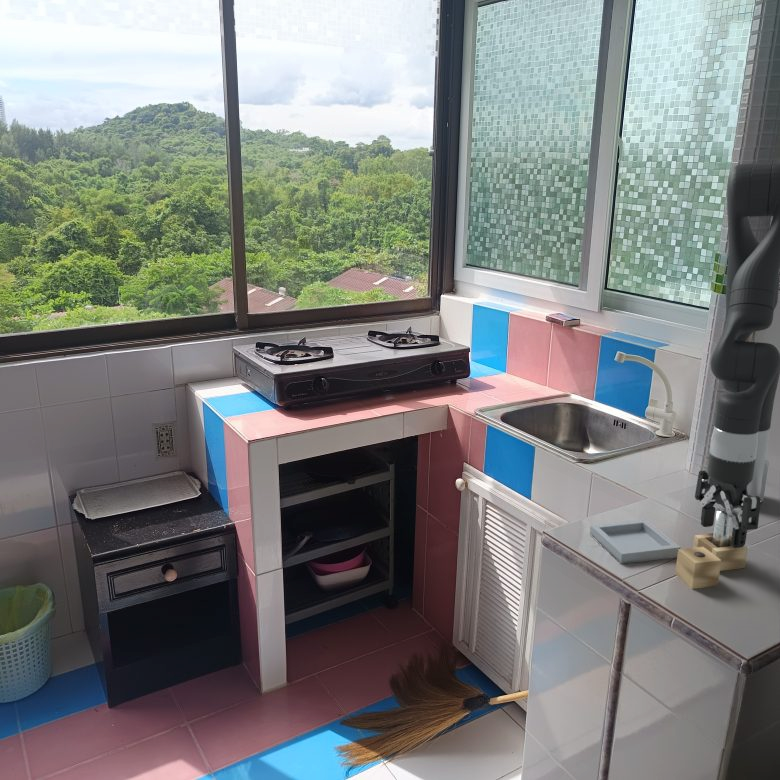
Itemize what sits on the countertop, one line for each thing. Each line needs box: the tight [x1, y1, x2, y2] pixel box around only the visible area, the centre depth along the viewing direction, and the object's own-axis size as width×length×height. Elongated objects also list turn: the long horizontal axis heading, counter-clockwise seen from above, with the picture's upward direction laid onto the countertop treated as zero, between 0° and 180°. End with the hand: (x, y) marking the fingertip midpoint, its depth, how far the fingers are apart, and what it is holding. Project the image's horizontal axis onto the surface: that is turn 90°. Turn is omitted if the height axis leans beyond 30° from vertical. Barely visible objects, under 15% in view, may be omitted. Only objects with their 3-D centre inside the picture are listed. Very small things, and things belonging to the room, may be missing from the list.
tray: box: [589, 519, 682, 565], centre depth 142 cm, size 12×12×2 cm
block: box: [674, 547, 721, 590], centre depth 129 cm, size 5×5×5 cm
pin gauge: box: [712, 507, 732, 548], centre depth 135 cm, size 3×3×10 cm
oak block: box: [692, 532, 749, 572], centre depth 136 cm, size 6×6×4 cm
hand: (721, 536), depth 135 cm, fingers open, 8 cm apart
